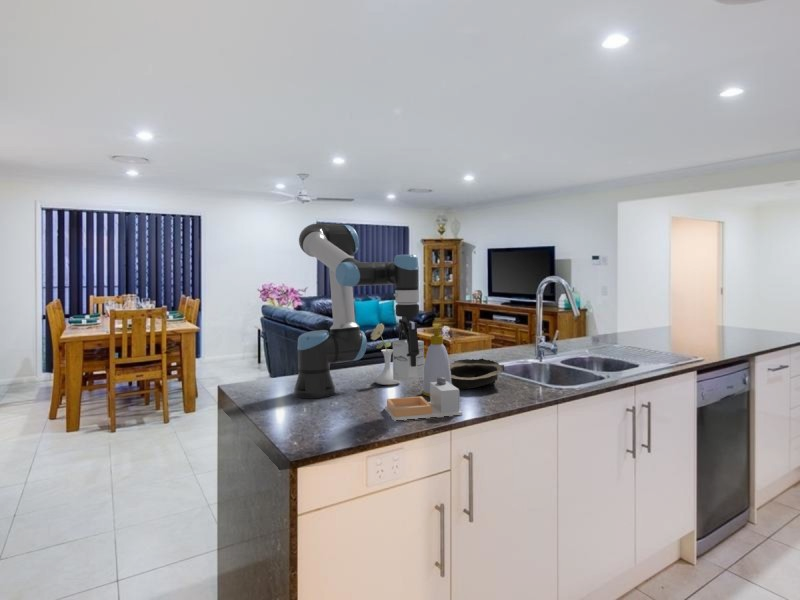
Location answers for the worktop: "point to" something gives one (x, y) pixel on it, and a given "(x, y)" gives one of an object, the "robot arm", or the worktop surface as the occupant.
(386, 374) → the flower in vase
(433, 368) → the soap bottle
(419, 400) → the tan white boxy piece
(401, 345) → the supplement box
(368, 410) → the worktop surface
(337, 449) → the worktop surface
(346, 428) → the worktop surface
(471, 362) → the stone bowl
